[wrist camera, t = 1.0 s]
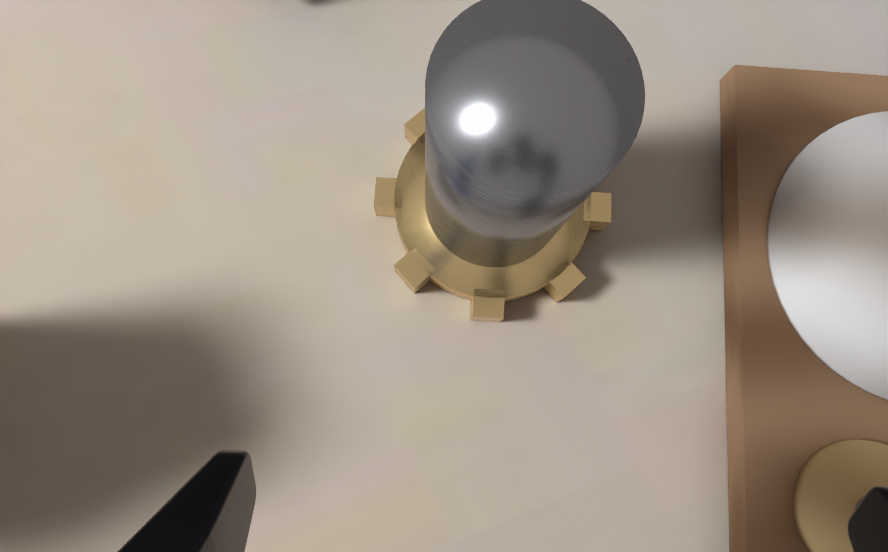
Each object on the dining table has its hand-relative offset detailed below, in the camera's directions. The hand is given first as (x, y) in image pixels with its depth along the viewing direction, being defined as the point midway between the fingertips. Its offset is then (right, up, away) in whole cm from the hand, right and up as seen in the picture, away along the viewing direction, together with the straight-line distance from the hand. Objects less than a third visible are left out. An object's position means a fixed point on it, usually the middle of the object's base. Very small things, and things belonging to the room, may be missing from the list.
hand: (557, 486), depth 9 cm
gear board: (+15, 0, +14) cm, 21 cm away
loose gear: (0, +6, +15) cm, 16 cm away
